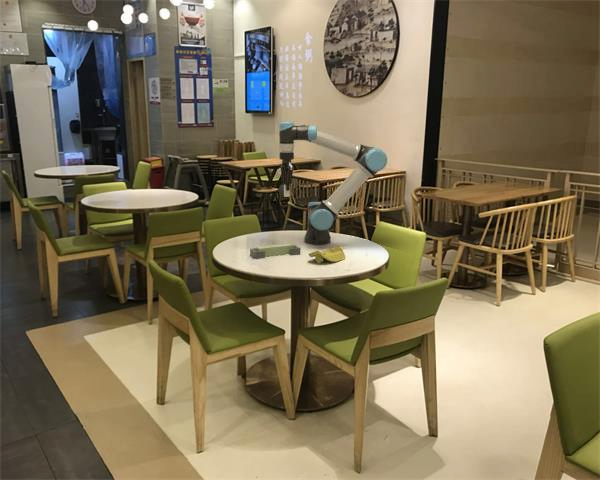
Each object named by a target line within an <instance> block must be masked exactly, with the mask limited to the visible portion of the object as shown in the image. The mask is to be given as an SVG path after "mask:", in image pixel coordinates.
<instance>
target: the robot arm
mask: <svg viewBox="0 0 600 480" xmlns="http://www.w3.org/2000/svg"><path fill="white" fill-rule="evenodd" d="M278 132H279V133H278V134H279V135H278V136H279V147H278V149H279V160H282V161H281V164H279V167H280V174H281V182H282V183H283V197H284V198H285V197H286V198H287V197H291V196H290V195H291V194H290V193H291V192H290V191H291V189H290V187H291V186H290V185H291V184H292V182H293V175H294V174H293V173H294V168H295V167H294V165H292V161H293V160H294V159H295V153H294V151H295V145H294V144H295V141H305V142H308V143H312V144H314V145H316V146H320V147H323V148H325V149H328V150H330V151H332V152H336V153H339V154H341V155H343V156H346V157H348V158H351V159H352V161H353V162H356V167H355V168H354V169H353V171H352V172H351V173H350V174H349V175H348V176H347V177H346V178H345V179H344V181H342V183H341V184H340V185H339V186H338V187H337V188H336V189H335V190H334V191H333V193H332V194H331V195H330V196H329V197H328V198H327V199H326V200H325V199H324V200H322V201H311V202H308V204H307V229H306V231H305V235H304V239H303V240H304V243H306V244H309V245H328V244H330V243H331V239H332V238H331V234H330V230H329V229H330V228H331V227H332V225H333V223H334V220H336V218H337V217H338V216H339V211H340V210H341V209H342V208H343V207H344V205H345V204H346V203H347V202H348V201H349V200H350V198H351V197H353V196H354V194H355V193H356V192H357V191H358V190H359V189H360V188H361V187H362V186H363V185H364V184H365V182H366V181H367V180H368V179H369V178H374V177H375V176H376V174H378V172H381V171H383V170H384V168H386V166H387V164H388V156H387V154H386V152H385V151H384V150H382V149H381V148H379V147H374V146H367V145H364V144H361V143H359V144H355V143H353V142H350V141H348V140H345V139H343V138H340V137H338V136H335V135H332V134H329V133H326V132H324V131H321V130H318V129H317V125H306V124H301V125H296V124H295V122H293V121H280V123H279V131H278Z"/></svg>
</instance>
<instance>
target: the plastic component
mask: <svg viewBox="0 0 600 480" xmlns="http://www.w3.org/2000/svg"><path fill="white" fill-rule="evenodd" d="M308 256H309V257H310V258H314V257H315V261H316V263H317V264H319V263H323V262H324V259H325V260H326V261H328V262H332V263H335V262H340V261H344V260H345V259H346V255H345V252H344V249H343V248H342V246H339V245H338V246H336V247H333V248H330V249H327V250H321V251H320V250H315V251H312V252H309V253H308Z"/></svg>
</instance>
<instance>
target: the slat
mask: <svg viewBox="0 0 600 480" xmlns="http://www.w3.org/2000/svg"><path fill="white" fill-rule="evenodd" d="M294 245H295V244H294V243H283V244H275V245H265V246H257V247H255V248H256V251H265V258H269V257H270V256H271V257H279V255H280V256H287V255H286V254H288V255H290V248H294Z"/></svg>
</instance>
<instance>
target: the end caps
mask: <svg viewBox="0 0 600 480" xmlns="http://www.w3.org/2000/svg"><path fill="white" fill-rule="evenodd" d="M293 245H294V248H290V254H289V256H299V255H300V256H301V247H300V246H298V245H296V244H293ZM249 255H250V257H251V258H252V259H254V260H256V259H257V260H258V259H266V257H265V251H256V247H255V248H249Z"/></svg>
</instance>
